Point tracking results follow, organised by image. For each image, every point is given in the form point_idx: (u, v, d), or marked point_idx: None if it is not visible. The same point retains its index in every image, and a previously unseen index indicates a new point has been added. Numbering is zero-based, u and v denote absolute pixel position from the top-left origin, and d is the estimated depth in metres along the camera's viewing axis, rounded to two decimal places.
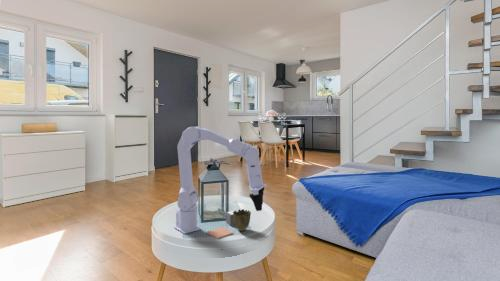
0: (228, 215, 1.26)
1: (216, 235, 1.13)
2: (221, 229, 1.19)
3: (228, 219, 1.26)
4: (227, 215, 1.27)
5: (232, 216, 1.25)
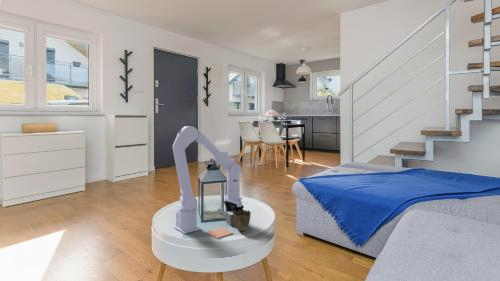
0: (228, 215, 1.26)
1: (216, 235, 1.13)
2: (221, 229, 1.19)
3: (228, 219, 1.26)
4: (227, 215, 1.27)
5: (232, 216, 1.25)
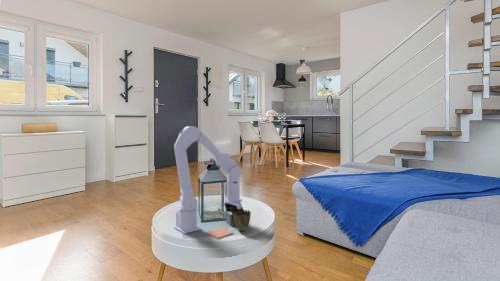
0: (228, 215, 1.26)
1: (216, 235, 1.13)
2: (221, 229, 1.19)
3: (228, 218, 1.26)
4: (227, 215, 1.27)
5: None
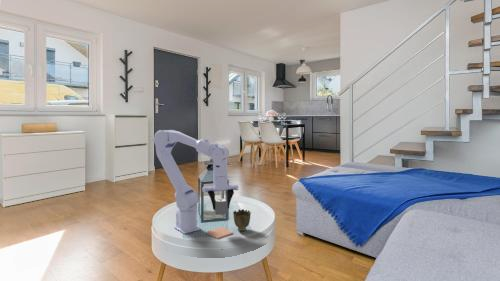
0: (222, 203, 1.14)
1: (216, 235, 1.13)
2: (221, 229, 1.19)
3: (223, 207, 1.14)
4: (219, 204, 1.14)
5: None
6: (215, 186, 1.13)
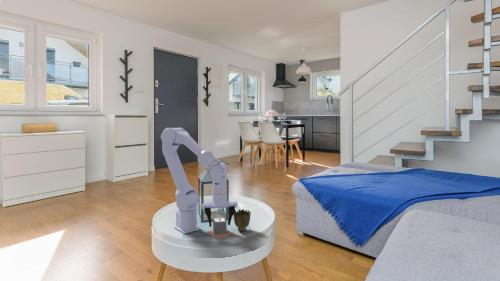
0: (221, 223, 1.14)
1: (216, 235, 1.13)
2: None
3: (221, 227, 1.14)
4: (218, 225, 1.14)
5: None
6: (214, 203, 1.13)
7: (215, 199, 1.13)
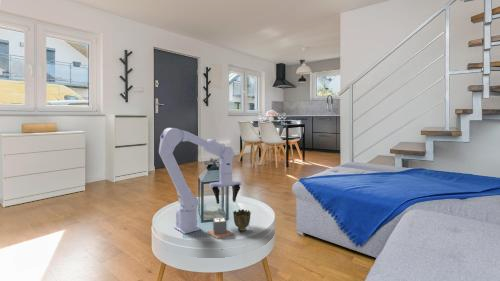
0: (221, 223, 1.14)
1: (216, 235, 1.13)
2: None
3: (221, 227, 1.14)
4: (218, 225, 1.14)
5: None
6: (222, 182, 1.25)
7: (223, 178, 1.25)
